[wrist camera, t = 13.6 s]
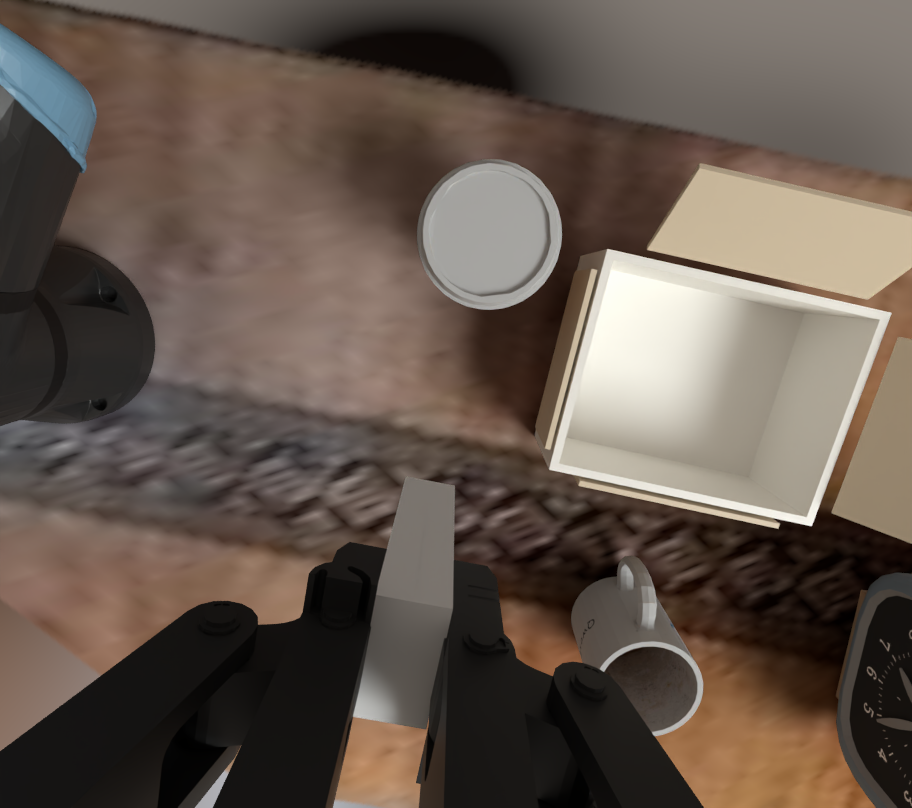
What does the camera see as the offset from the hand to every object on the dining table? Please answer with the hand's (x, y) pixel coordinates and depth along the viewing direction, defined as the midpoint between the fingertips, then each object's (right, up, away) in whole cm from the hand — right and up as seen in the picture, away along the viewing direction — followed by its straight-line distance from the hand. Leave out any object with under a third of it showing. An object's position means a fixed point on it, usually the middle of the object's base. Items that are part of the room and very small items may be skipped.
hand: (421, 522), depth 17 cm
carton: (+20, +6, +32) cm, 38 cm away
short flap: (+32, +1, +20) cm, 38 cm away
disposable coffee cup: (+3, +17, +31) cm, 35 cm away
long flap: (+21, +14, +17) cm, 31 cm away
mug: (+17, -15, +37) cm, 44 cm away
